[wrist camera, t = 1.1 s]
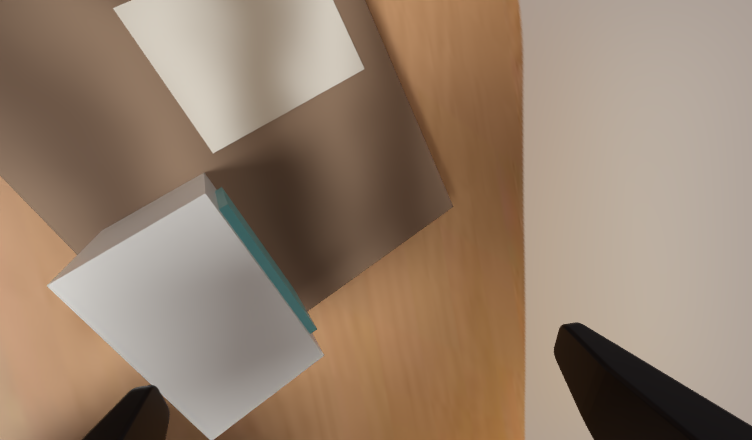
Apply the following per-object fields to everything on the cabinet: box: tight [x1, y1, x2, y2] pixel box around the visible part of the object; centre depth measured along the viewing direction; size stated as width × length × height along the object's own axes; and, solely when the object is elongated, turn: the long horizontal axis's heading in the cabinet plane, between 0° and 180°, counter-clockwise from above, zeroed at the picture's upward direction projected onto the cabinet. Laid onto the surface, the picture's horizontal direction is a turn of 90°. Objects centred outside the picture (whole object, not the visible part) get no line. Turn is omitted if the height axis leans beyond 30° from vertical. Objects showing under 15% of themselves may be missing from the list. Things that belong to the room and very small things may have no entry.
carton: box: [47, 173, 324, 440], centre depth 14 cm, size 5×7×6 cm
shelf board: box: [0, 0, 453, 311], centre depth 16 cm, size 16×18×3 cm
